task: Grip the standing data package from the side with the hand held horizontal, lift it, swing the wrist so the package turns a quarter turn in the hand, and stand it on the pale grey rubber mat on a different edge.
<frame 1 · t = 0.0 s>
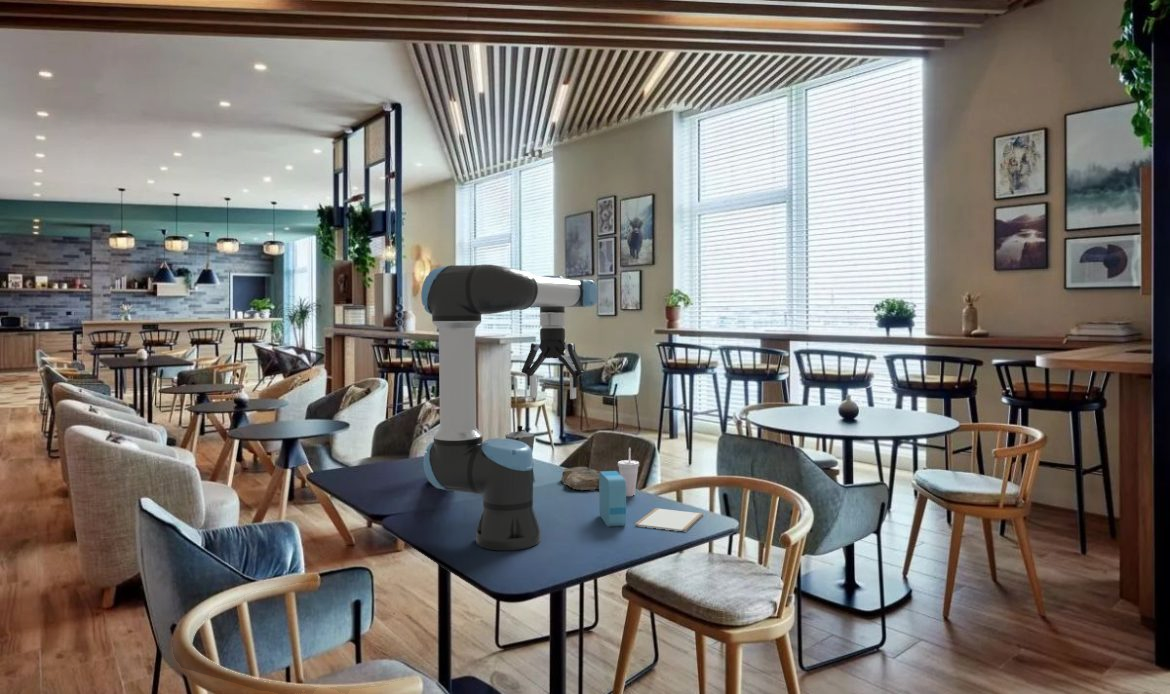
hand: (552, 397, 219), 28 cm above the table, tool pointing down, fingers open, 13 cm apart
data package: (612, 521, 186), on the table
smoothie: (628, 495, 213), on the table
mat: (669, 520, 186), on the table
coffeepot: (520, 481, 231), on the table
flat brown rock: (584, 485, 227), on the table
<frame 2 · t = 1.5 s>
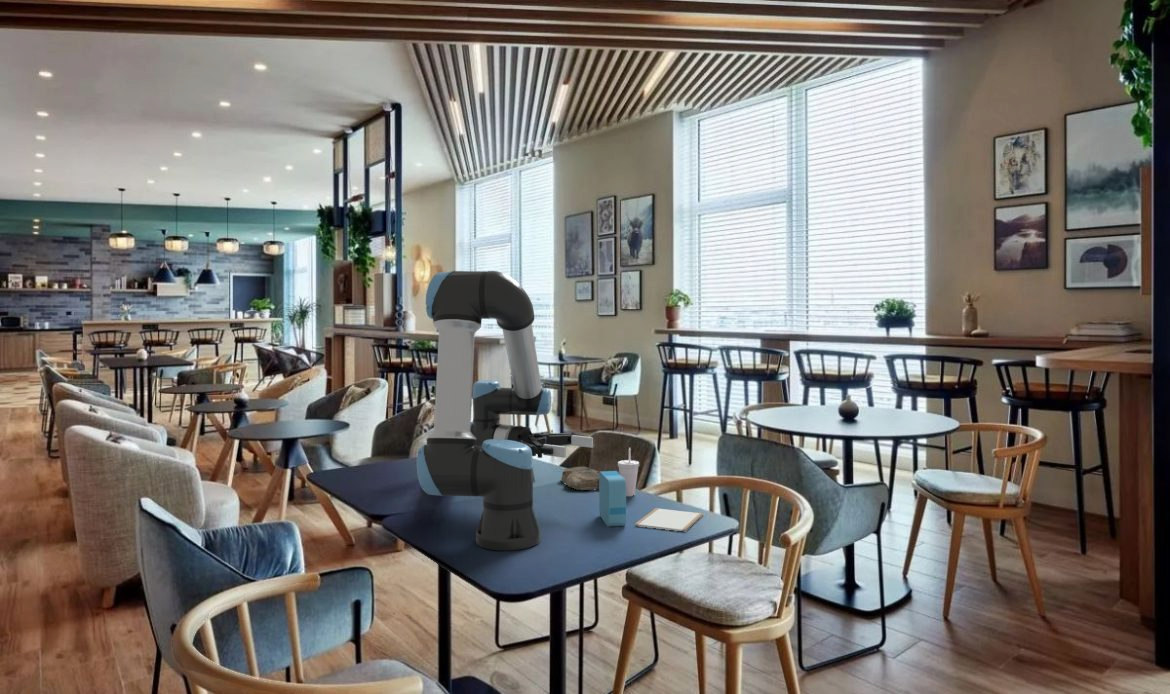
hand: (579, 447, 190), 18 cm above the table, tool horizontal, fingers open, 13 cm apart
nothing on the table moved.
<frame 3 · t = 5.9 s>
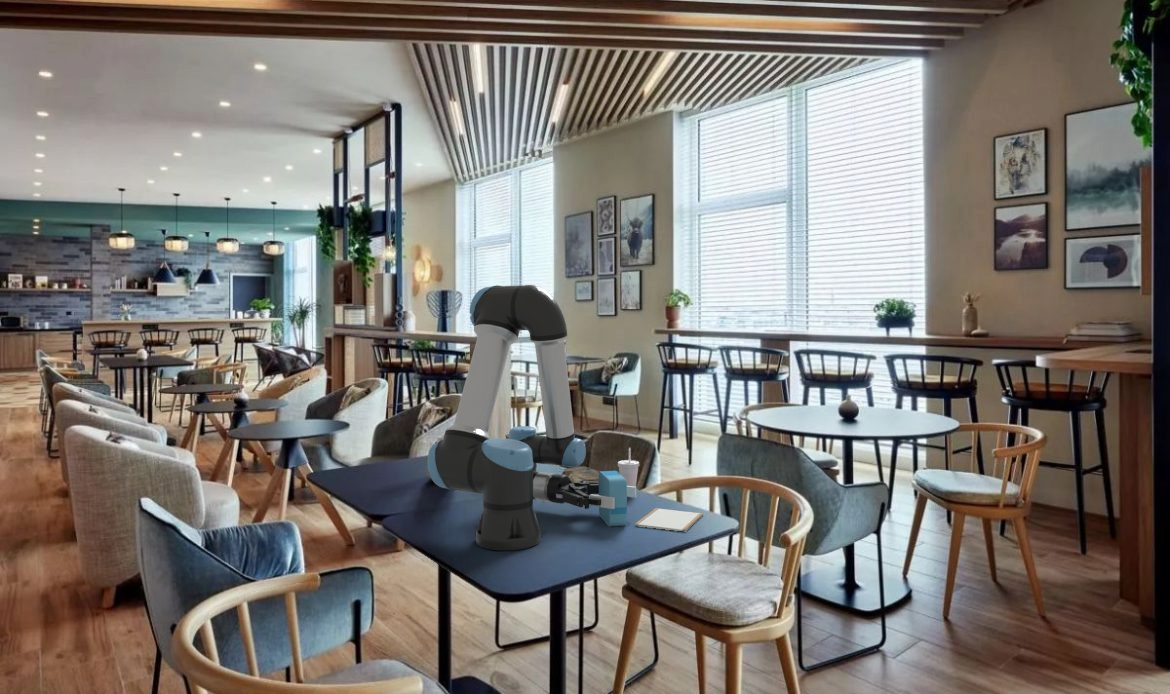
hand: (625, 497, 184), 7 cm above the table, tool horizontal, fingers closed on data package, 12 cm apart
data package: (612, 521, 186), on the table, touching gripper
everything else where it was.
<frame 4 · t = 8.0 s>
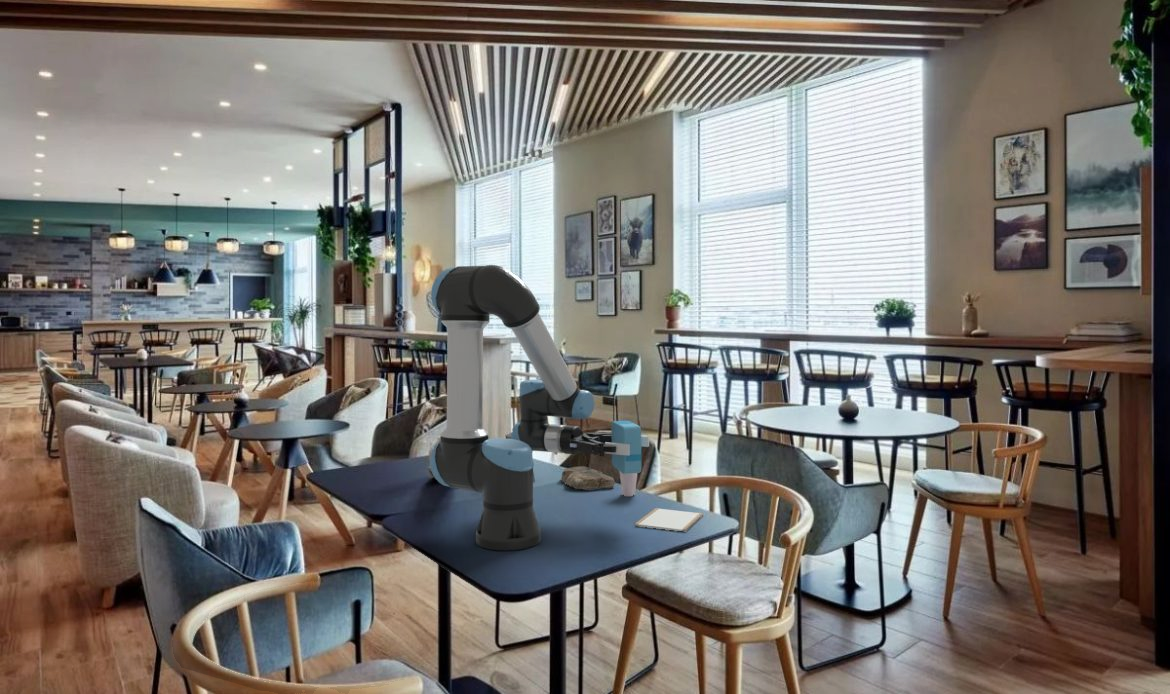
hand: (639, 445, 184), 20 cm above the table, tool horizontal, fingers closed on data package, 12 cm apart
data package: (626, 470, 186), point 13 cm above the table, touching gripper
everything else where it was.
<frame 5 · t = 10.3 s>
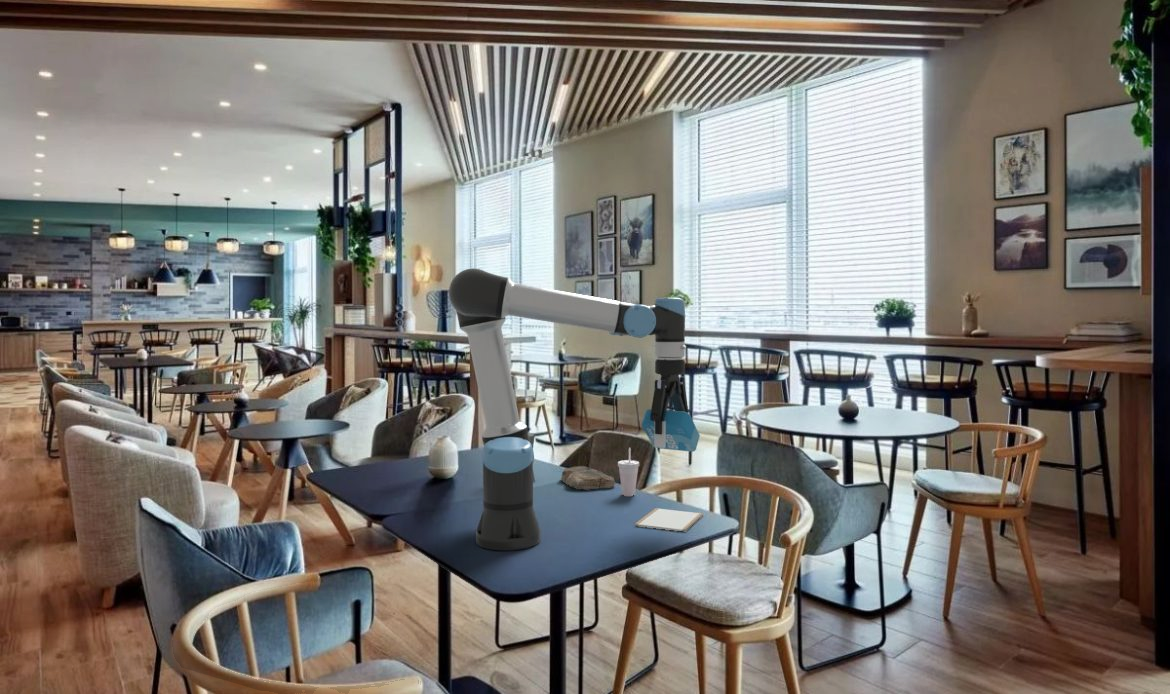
hand: (669, 443, 185), 20 cm above the table, tool pointing down, fingers closed on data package, 12 cm apart
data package: (693, 432, 181), point 23 cm above the table, touching gripper
everything else where it was.
when the fingers open (4 cm above the table, at t = 13.3 s): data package drops 2 cm, resting on mat.
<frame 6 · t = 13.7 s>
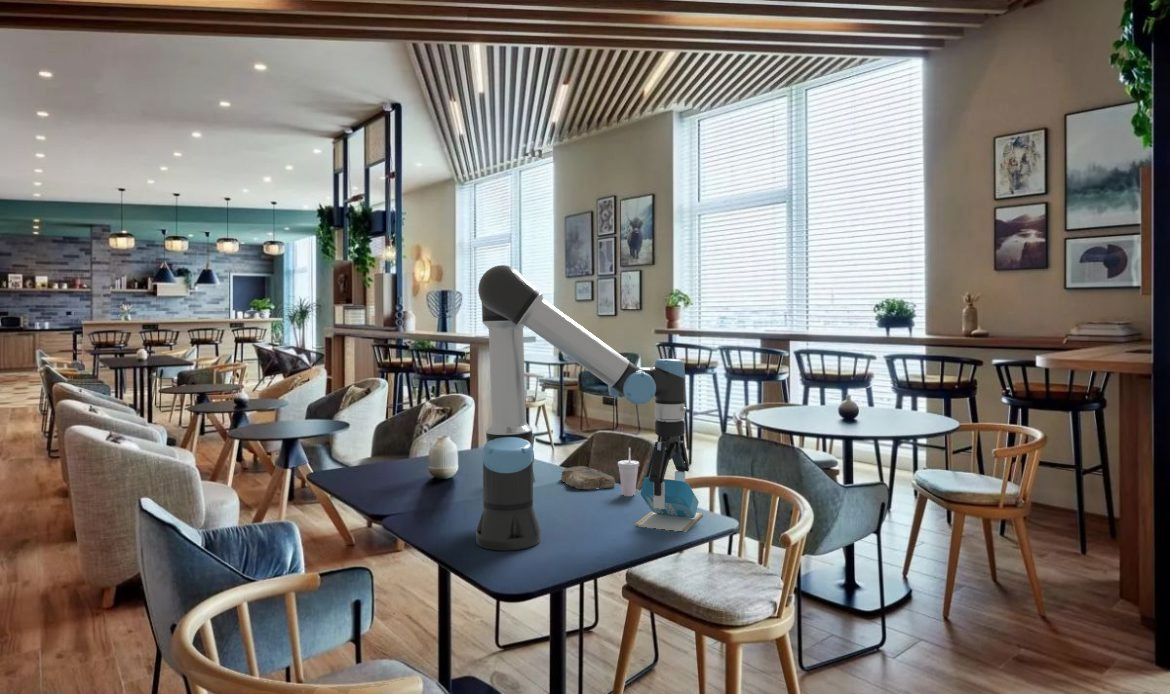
hand: (669, 502, 185), 5 cm above the table, tool pointing down, fingers open, 13 cm apart
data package: (692, 500, 182), point 6 cm above the table, touching gripper, mat
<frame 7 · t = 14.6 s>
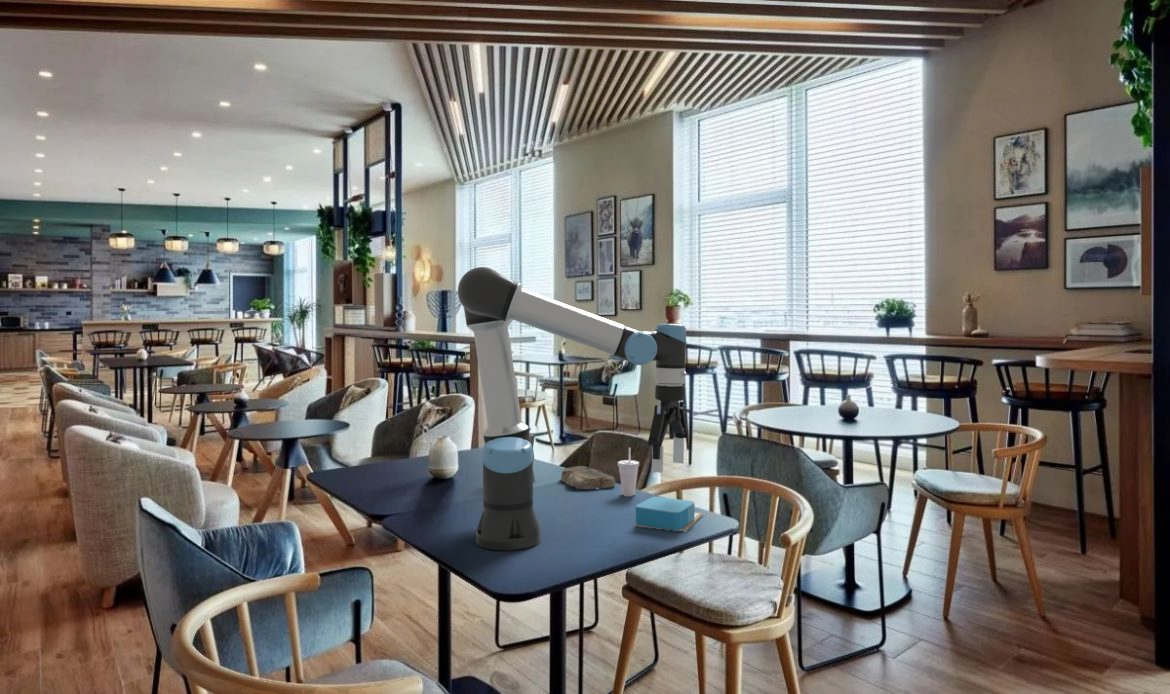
hand: (668, 467, 185), 14 cm above the table, tool pointing down, fingers open, 13 cm apart
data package: (688, 516, 179), point 3 cm above the table, touching mat
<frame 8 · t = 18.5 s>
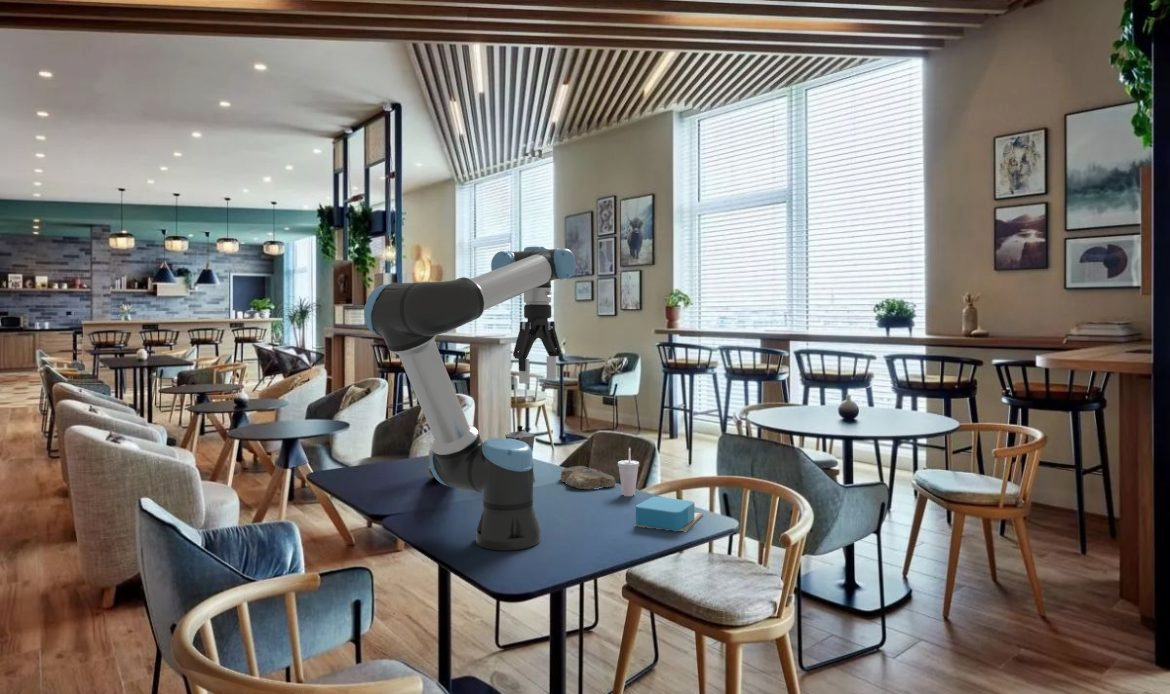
hand: (538, 381, 199), 35 cm above the table, tool pointing down, fingers open, 13 cm apart
at the end: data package inside the target area on the mat (7.3 cm from its centre), point 3.0 cm above the mat's base; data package tilted 90°; the gripper is holding nothing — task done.
